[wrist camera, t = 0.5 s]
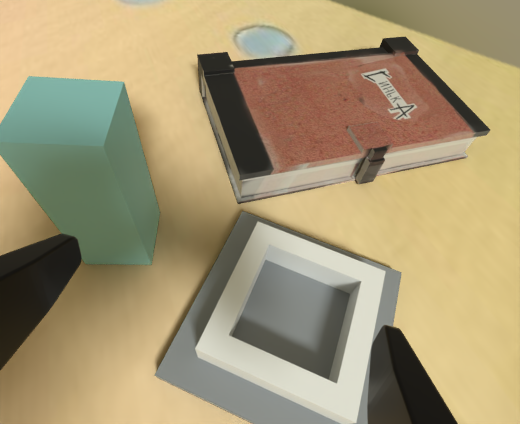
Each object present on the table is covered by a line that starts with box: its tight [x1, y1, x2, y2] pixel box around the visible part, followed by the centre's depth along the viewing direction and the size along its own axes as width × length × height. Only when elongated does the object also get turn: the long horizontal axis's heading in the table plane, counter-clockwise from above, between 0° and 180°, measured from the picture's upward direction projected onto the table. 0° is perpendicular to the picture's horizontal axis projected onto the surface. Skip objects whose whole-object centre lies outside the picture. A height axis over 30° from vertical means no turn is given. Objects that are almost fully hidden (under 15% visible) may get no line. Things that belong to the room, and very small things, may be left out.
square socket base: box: [155, 211, 401, 424], centre depth 23 cm, size 14×14×4 cm
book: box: [197, 37, 490, 204], centre depth 36 cm, size 26×18×5 cm
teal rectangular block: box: [0, 76, 160, 265], centre depth 22 cm, size 5×5×13 cm
